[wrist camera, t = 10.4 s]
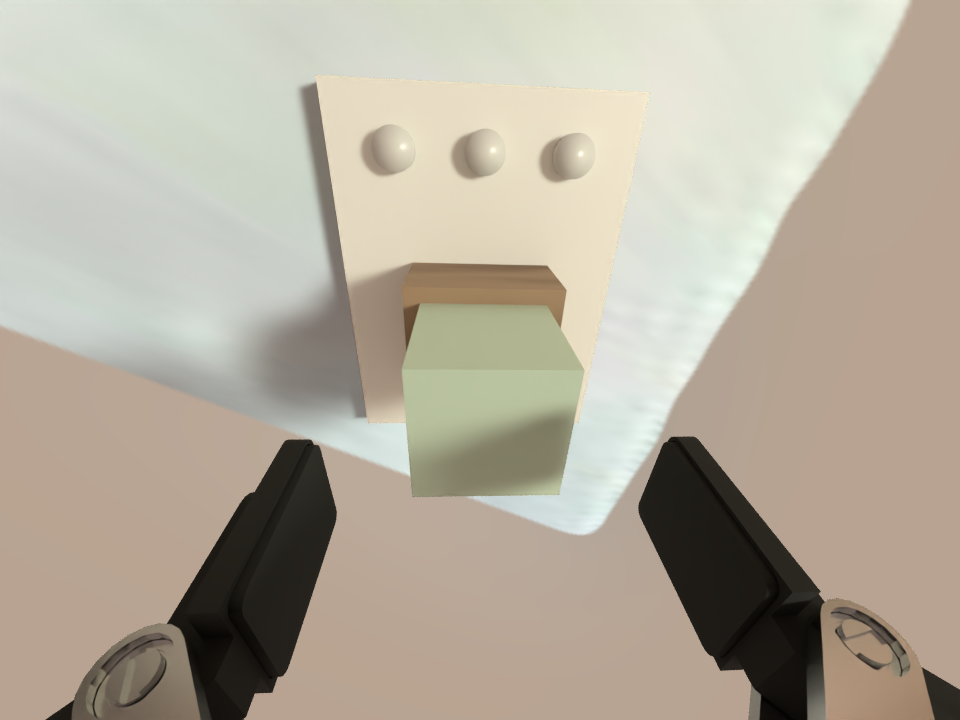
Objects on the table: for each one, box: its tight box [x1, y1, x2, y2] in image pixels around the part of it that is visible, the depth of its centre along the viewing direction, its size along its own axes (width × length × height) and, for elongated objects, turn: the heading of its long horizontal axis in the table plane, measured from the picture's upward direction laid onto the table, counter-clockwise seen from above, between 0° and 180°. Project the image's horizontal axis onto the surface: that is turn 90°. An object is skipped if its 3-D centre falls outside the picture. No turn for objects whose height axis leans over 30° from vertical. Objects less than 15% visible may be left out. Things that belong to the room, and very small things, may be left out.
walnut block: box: [402, 262, 567, 352], centre depth 19 cm, size 7×7×4 cm
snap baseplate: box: [315, 75, 650, 423], centre depth 20 cm, size 18×14×2 cm
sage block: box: [402, 303, 585, 497], centre depth 14 cm, size 6×6×6 cm
